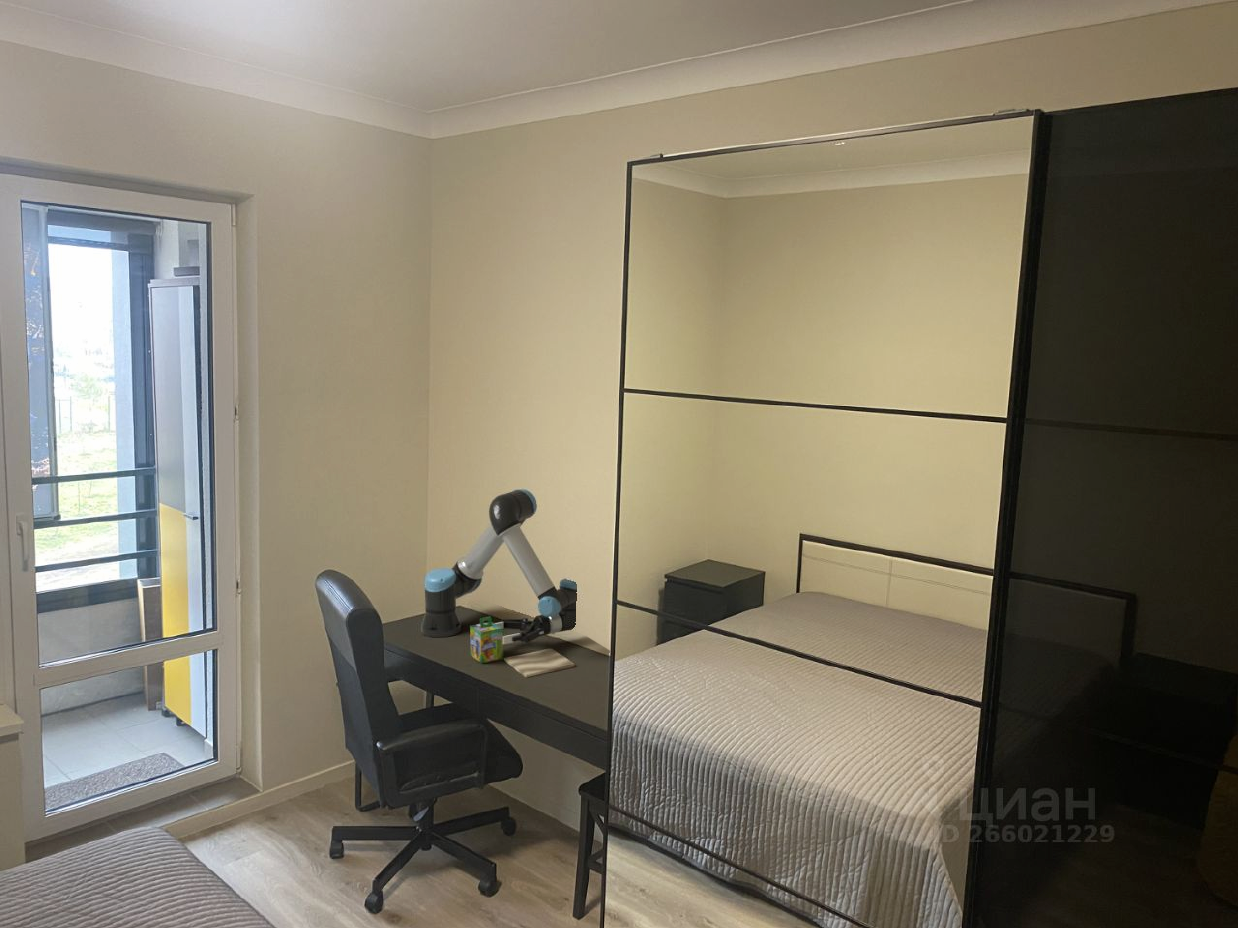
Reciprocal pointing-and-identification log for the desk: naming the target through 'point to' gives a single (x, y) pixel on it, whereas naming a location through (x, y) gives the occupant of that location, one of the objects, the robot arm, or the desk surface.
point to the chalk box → (486, 641)
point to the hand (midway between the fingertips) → (494, 634)
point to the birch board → (538, 662)
